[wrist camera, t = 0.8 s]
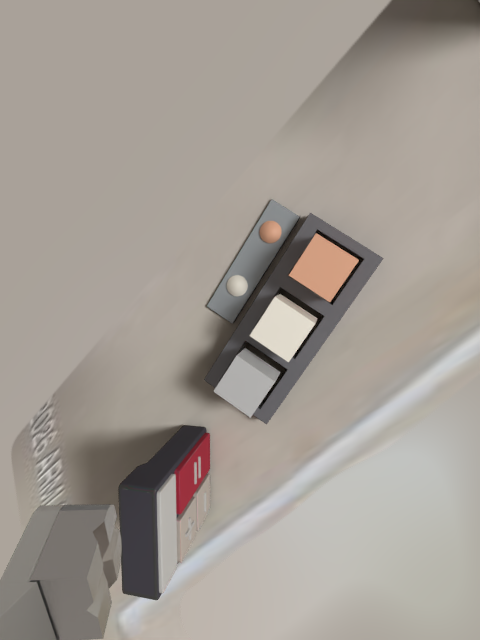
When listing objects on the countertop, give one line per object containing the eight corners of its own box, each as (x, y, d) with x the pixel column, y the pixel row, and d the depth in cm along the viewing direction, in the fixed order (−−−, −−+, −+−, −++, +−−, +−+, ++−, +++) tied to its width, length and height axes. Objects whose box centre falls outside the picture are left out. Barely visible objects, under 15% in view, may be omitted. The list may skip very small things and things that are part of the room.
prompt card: (272, 199, 46) (271, 198, 45) (300, 216, 45) (299, 216, 45) (207, 305, 49) (206, 306, 49) (233, 323, 49) (231, 323, 48)
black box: (213, 510, 53) (164, 604, 38) (180, 506, 54) (121, 596, 39) (212, 426, 51) (162, 491, 37) (179, 423, 52) (117, 485, 38)
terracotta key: (318, 235, 42) (316, 233, 39) (357, 260, 42) (359, 260, 38) (292, 274, 43) (288, 275, 40) (331, 299, 43) (329, 302, 39)
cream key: (280, 293, 44) (274, 296, 40) (317, 318, 43) (315, 323, 40) (256, 329, 45) (249, 335, 41) (293, 354, 44) (288, 362, 41)
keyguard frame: (312, 215, 45) (310, 212, 43) (381, 258, 44) (383, 258, 42) (210, 374, 50) (203, 379, 48) (270, 416, 49) (266, 424, 47)
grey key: (245, 347, 45) (236, 355, 42) (280, 372, 45) (275, 381, 41) (223, 381, 47) (213, 391, 43) (257, 405, 46) (250, 417, 42)
